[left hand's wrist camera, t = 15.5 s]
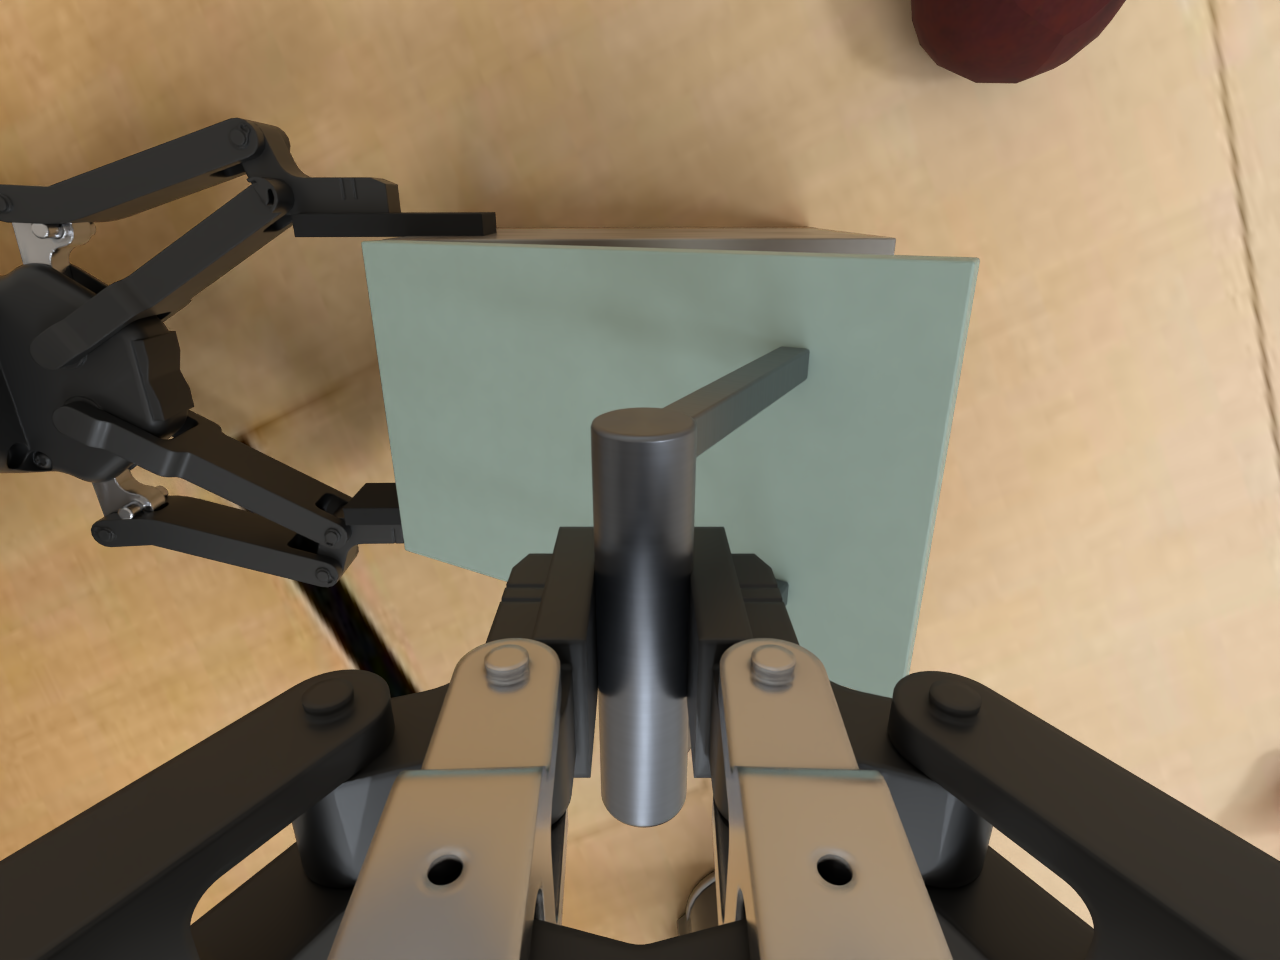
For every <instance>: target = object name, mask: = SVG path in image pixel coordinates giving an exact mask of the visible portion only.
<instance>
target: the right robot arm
mask: <svg viewBox="0 0 1280 960" xmlns="http://www.w3.org/2000/svg"><path fill="white" fill-rule="evenodd" d="M245 174H247V176H248V179H247V181H248V182H251V183H252V185H250V186H249V187H248V188H246V189H245V190H243V191H242V192H241V193H239V194H238V195H237V196H235V197H234V198H233V199H231V200H230V201H229V202H227V203H226V204H225V205H223V206H222V207H221V208H219V209H218V210H217V211H215V212H214V213H213V214H211V215H210V216H209V217H207V218H206V219H205V220H203V221H202V222H201V223H199V224H198V225H197V226H195V227H194V228H193V229H191V230H190V231H188V232H187V233H186V234H184V235H183V236H182V237H180V238H179V239H178V240H176V241H175V242H174V243H172V244H171V245H170V246H168V247H167V248H166V249H164V250H163V251H162V252H160V253H159V254H158V255H156V256H155V257H154V258H152V259H151V260H150V261H148V262H147V263H146V264H144V265H143V266H142V267H140V268H139V269H137V270H136V271H135V272H133V273H132V274H131V275H129V276H128V277H126V278H124V279H122V280H120V281H117V282H115V283H113V284H111V285H109V286H108V285H107V284H105V283H103V282H102V281H100V280H98V279H97V278H95V277H94V276H92V275H90V274H89V273H87V272H85V271H84V270H82V269H80V268H79V267H77V266H75V265H73V264H70V262H69V255H70V252H71V250H72V249H73V248H75V247H76V246H80V245H84V244H86V243H87V242H88V241H89V240H90V238H91V236H92V235H94V234H95V233H96V227H95V225H94V223H93V222H108V221H114V220H119V219H123V218H126V217H129V216H132V215H135V214H137V213H140V212H143V211H146V210H148V209H151V208H154V207H157V206H159V205H162V204H165V203H168V202H170V201H173V200H176V199H179V198H181V197H184V196H187V195H190V194H192V193H195V192H198V191H201V190H203V189H206V188H209V187H212V186H214V185H217V184H220V183H223V182H225V181H228V180H231V179H234V178H236V177H239V176H242V175H245ZM0 221H4V222H10V223H12V224H13V228H14V232H15V235H16V239H17V243H18V246H19V250H20V254H21V257H22V261H23V265H21V266H19V267H17V268H16V269H14V270H13V271H12V272H10V273H9V274H7V275H5V276H0V473H31V472H46V471H58V472H63V473H67V474H70V475H72V476H75V477H77V478H79V479H82V480H84V481H88V482H92V484H93V486H94V489H95V492H96V495H97V497H98V500H99V503H100V505H101V508H102V511H103V514H104V517H103V518H102V519H100V520H98V521H97V522H95V523H94V524H93V525H92V528H91V533H92V536H93V537H94V539H95V540H96V541H97V542H98V543H99V544H101V545H104V546H107V547H122V546H142V545H154V546H158V547H162V548H167V549H171V550H175V551H179V552H183V553H187V554H191V555H195V556H199V557H203V558H207V559H211V560H215V561H219V562H223V563H227V564H231V565H236V566H240V567H244V568H248V569H252V570H256V571H260V572H264V573H268V574H272V575H276V576H280V577H284V578H288V579H292V580H296V581H300V582H304V583H309V584H313V585H317V586H321V587H330V586H333V585H334V584H336V583H337V581H338V580H339V579H340V577H341V576H342V575H343V573H344V572H345V571H346V569H347V568H348V567H349V565H350V564H351V563H352V561H353V560H354V559H355V558H356V556H357V554H358V552H359V550H358V544H378V543H404V538H403V531H402V524H401V517H400V510H399V503H398V496H397V489H396V483H366V484H365V485H364V486H363V487H362V488H361V489H360V490H359V491H358V492H357V494H356V495H355V496H354V497H353V498H352V497H350V496H348V495H346V494H344V493H342V492H340V491H338V490H336V489H334V488H332V487H330V486H328V485H326V484H324V483H322V482H320V481H318V480H316V479H314V478H312V477H310V476H308V475H306V474H304V473H301V472H299V471H297V470H295V469H293V468H291V467H289V466H287V465H285V464H283V463H281V462H279V461H277V460H275V459H273V458H271V457H269V456H267V455H265V454H263V453H261V452H259V451H257V450H255V449H253V448H251V447H249V446H247V445H245V444H243V443H241V442H239V441H237V440H235V439H233V438H231V437H229V436H227V435H225V434H223V433H222V431H221V427H220V426H219V425H217V424H216V423H214V422H212V421H210V420H208V419H206V418H204V417H202V416H200V415H198V414H196V413H194V412H192V411H190V410H188V409H190V408H193V407H194V404H193V400H192V396H191V392H190V388H189V386H188V384H187V383H186V381H185V379H184V377H183V375H182V373H181V371H180V347H179V343H178V339H177V335H176V331H168V329H167V327H166V326H165V325H164V323H163V322H164V321H165V320H167V319H168V318H170V317H171V316H172V315H174V314H175V313H176V312H178V311H179V310H181V309H182V308H183V307H185V306H186V305H187V304H189V303H190V302H191V298H192V297H194V296H195V295H196V294H198V293H199V292H201V291H202V290H203V289H205V288H206V287H207V286H209V285H210V284H212V283H213V282H214V281H216V280H217V279H219V278H220V277H221V276H223V275H224V274H226V273H227V272H228V271H230V270H231V269H232V268H234V267H235V266H237V265H238V264H239V263H241V262H242V261H244V260H245V259H246V258H248V257H249V256H250V255H252V254H253V253H255V252H256V251H257V250H259V249H260V248H262V247H263V246H264V245H266V244H267V243H268V242H270V241H271V240H273V239H274V238H275V237H277V236H278V235H280V234H281V233H282V232H284V231H285V230H286V229H288V228H289V227H291V226H292V225H293V228H294V234H295V237H404V236H485V235H490V234H494V233H497V230H496V216H495V212H432V213H401V209H400V201H399V193H398V185H397V184H394V183H392V182H390V181H387V180H385V179H380V178H312V177H309V176H307V175H306V174H304V173H303V172H302V171H301V170H300V169H299V168H298V167H297V165H296V163H295V162H294V160H293V158H292V156H291V154H290V142H289V139H288V137H287V135H286V134H285V132H284V131H282V130H281V129H280V128H278V127H275V126H272V125H268V124H263V123H259V122H254V121H250V120H245V119H240V118H231V119H228V120H225V121H223V122H220V123H217V124H215V125H212V126H209V127H207V128H204V129H201V130H198V131H196V132H193V133H190V134H188V135H185V136H182V137H180V138H177V139H174V140H172V141H169V142H166V143H164V144H161V145H158V146H156V147H153V148H150V149H148V150H145V151H142V152H140V153H137V154H134V155H131V156H129V157H126V158H123V159H121V160H118V161H115V162H113V163H110V164H107V165H105V166H102V167H99V168H97V169H94V170H91V171H89V172H86V173H83V174H81V175H78V176H75V177H73V178H70V179H67V180H64V181H62V182H59V183H56V184H54V185H51V186H35V185H1V184H0ZM171 436H172V437H174V438H172V439H169V438H170V437H171ZM168 439H169V440H168ZM136 466H140V467H142V468H144V469H146V470H148V471H150V472H152V473H154V474H157V475H159V476H163V477H180V478H182V479H185V480H187V481H189V482H191V483H193V484H195V485H197V486H199V487H202V488H204V489H206V490H208V491H210V492H212V493H214V494H216V495H218V496H220V497H223V498H225V499H227V500H229V501H231V502H233V503H235V504H237V505H239V506H241V507H244V508H246V509H248V510H250V511H252V512H254V513H252V512H248V511H244V510H240V509H237V508H233V507H229V506H225V505H221V504H217V503H213V502H209V501H205V500H202V499H197V498H192V497H186V496H168V491H167V489H166V488H165V487H163V486H156V487H153V486H149V485H144V484H141V483H139V482H138V481H137V480H135V479H134V477H133V476H132V474H131V472H130V470H131V469H133V468H134V467H136Z"/></svg>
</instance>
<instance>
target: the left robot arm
mask: <svg viewBox="0 0 1280 960" xmlns="http://www.w3.org/2000/svg"><path fill="white" fill-rule="evenodd" d="M506 585H507V586H506V588H505V590H504V593H503V596H502V601H501V602H500V604H499V607H498V610H497V613H496V615H495V618H494V621H493V624H492V627H491V630H490V632H489V635H488V638H487V641H486V644H483V645H480V646H478V647H476V648H475V649H473V650H471V651H470V652H468V653H467V654H466V655H465V656H464V657H462V658H461V660H460V661H459V662H458V663H457V665H456V667H455V669H454V672H453V675H452V678H451V681H450V683H448V684H446V685H444V686H441V687H438V688H435V689H431V690H428V691H424V692H419V693H414V694H410V695H405V696H400V697H395V698H390V692H389V687H388V685H387V683H386V681H385V680H384V679H383V678H382V677H380V676H378V675H377V674H374V673H372V672H368V671H363V670H339V671H333V672H328V673H324V674H321V675H318V676H315V677H312V678H310V679H307V680H305V681H303V682H301V683H299V684H297V685H295V686H294V687H292V688H290V689H289V690H287V691H285V692H284V693H282V694H280V695H278V696H277V697H275V698H273V699H272V700H270V701H268V702H267V703H265V704H263V705H262V706H260V707H258V708H257V709H255V710H253V711H252V712H250V713H248V714H247V715H245V716H243V717H242V718H240V719H238V720H237V721H235V722H233V723H231V724H230V725H228V726H226V727H225V728H223V729H221V730H220V731H218V732H216V733H215V734H213V735H211V736H210V737H208V738H206V739H205V740H203V741H201V742H200V743H198V744H196V745H195V746H193V747H191V748H190V749H188V750H186V751H184V752H183V753H181V754H179V755H178V756H176V757H174V758H173V759H171V760H169V761H168V762H166V763H164V764H163V765H161V766H159V767H158V768H156V769H154V770H153V771H151V772H149V773H148V774H146V775H144V776H143V777H141V778H139V779H137V780H136V781H134V782H132V783H131V784H129V785H127V786H126V787H124V788H122V789H121V790H119V791H117V792H116V793H114V794H112V795H111V796H109V797H107V798H106V799H104V800H102V801H101V802H99V803H97V804H96V805H94V806H92V807H90V808H89V809H87V810H85V811H84V812H82V813H80V814H79V815H77V816H75V817H74V818H72V819H70V820H69V821H67V822H65V823H64V824H62V825H60V826H59V827H57V828H55V829H54V830H52V831H50V832H49V833H47V834H45V835H44V836H42V837H40V838H38V839H37V840H35V841H33V842H32V843H30V844H28V845H27V846H25V847H23V848H22V849H20V850H18V851H17V852H15V853H13V854H12V855H10V856H8V857H7V858H5V859H3V860H2V861H0V960H1280V861H1278V860H1277V859H1275V858H1273V857H1272V856H1270V855H1268V854H1267V853H1265V852H1263V851H1262V850H1260V849H1258V848H1257V847H1255V846H1253V845H1252V844H1250V843H1248V842H1247V841H1245V840H1243V839H1242V838H1240V837H1238V836H1237V835H1235V834H1233V833H1231V832H1230V831H1228V830H1226V829H1225V828H1223V827H1221V826H1220V825H1218V824H1216V823H1215V822H1213V821H1211V820H1210V819H1208V818H1206V817H1205V816H1203V815H1201V814H1200V813H1198V812H1196V811H1195V810H1193V809H1191V808H1190V807H1188V806H1186V805H1184V804H1183V803H1181V802H1179V801H1178V800H1176V799H1174V798H1173V797H1171V796H1169V795H1168V794H1166V793H1164V792H1163V791H1161V790H1159V789H1158V788H1156V787H1154V786H1153V785H1151V784H1149V783H1148V782H1146V781H1144V780H1143V779H1141V778H1139V777H1137V776H1136V775H1134V774H1132V773H1131V772H1129V771H1127V770H1126V769H1124V768H1122V767H1121V766H1119V765H1117V764H1116V763H1114V762H1112V761H1111V760H1109V759H1107V758H1106V757H1104V756H1102V755H1101V754H1099V753H1097V752H1096V751H1094V750H1092V749H1090V748H1089V747H1087V746H1085V745H1084V744H1082V743H1080V742H1079V741H1077V740H1075V739H1074V738H1072V737H1070V736H1069V735H1067V734H1065V733H1064V732H1062V731H1060V730H1059V729H1057V728H1055V727H1054V726H1052V725H1050V724H1049V723H1047V722H1045V721H1043V720H1042V719H1040V718H1038V717H1037V716H1035V715H1033V714H1032V713H1030V712H1028V711H1027V710H1025V709H1023V708H1022V707H1020V706H1018V705H1017V704H1015V703H1013V702H1012V701H1010V700H1008V699H1007V698H1005V697H1003V696H1002V695H1000V694H998V693H996V692H995V691H993V690H991V689H990V688H988V687H986V686H984V685H983V684H981V683H979V682H976V681H974V680H972V679H969V678H966V677H963V676H960V675H956V674H952V673H947V672H940V671H924V672H917V673H912V674H910V675H907V676H905V677H903V678H902V679H900V680H899V681H898V682H897V684H896V685H895V687H894V690H893V696H892V698H889V697H884V696H880V695H875V694H870V693H866V692H861V691H857V690H853V689H849V688H847V687H844V686H841V685H839V684H836V683H834V682H832V681H830V680H829V678H828V675H827V672H826V669H825V667H824V665H823V663H822V662H821V661H820V659H819V658H818V657H817V656H815V655H814V654H813V653H812V652H810V651H809V650H807V649H805V648H804V647H802V646H800V645H799V642H798V639H797V637H796V634H795V631H794V628H793V626H792V623H791V620H790V617H789V615H788V612H787V609H786V606H785V604H784V602H783V601H782V599H783V598H782V596H781V593H780V590H779V588H778V587H777V582H776V579H775V576H774V574H773V571H772V568H771V567H770V566H769V565H767V564H766V563H765V562H764V561H763V560H761V559H760V558H759V557H758V556H757V555H755V554H754V553H731V551H730V547H729V543H728V539H727V536H726V532H725V528H724V527H694V551H693V569H692V572H691V573H690V596H689V629H688V662H687V696H686V697H687V707H688V718H689V729H690V740H691V750H692V761H693V772H694V778H711V779H712V788H713V810H712V834H713V849H714V865H715V871H714V872H712V873H711V874H709V875H708V876H706V877H705V878H704V879H703V880H702V881H700V882H699V883H698V885H697V886H696V887H695V888H694V890H693V891H692V893H691V894H690V896H689V899H688V902H687V906H686V913H685V914H684V915H683V916H682V917H681V918H679V919H678V920H677V925H678V936H677V937H673V938H670V939H666V940H662V941H658V942H655V943H651V944H645V945H635V944H629V943H625V942H622V941H618V940H614V939H610V938H607V937H603V936H599V935H595V934H592V933H588V932H584V931H580V930H577V929H573V928H569V927H565V926H562V911H563V896H564V880H565V865H566V850H567V835H568V810H567V808H568V805H569V803H570V799H571V794H572V786H573V778H590V776H591V765H592V753H593V741H594V730H595V718H596V706H597V695H598V663H597V629H596V595H595V562H594V529H593V527H559V530H558V534H557V538H556V542H555V546H554V550H553V553H529V554H528V555H527V556H526V557H525V558H523V559H522V560H521V561H520V562H519V563H517V564H516V565H515V566H514V567H513V568H512V570H511V573H510V576H509V579H508V581H507V584H506ZM290 823H292V825H293V829H294V833H295V837H296V841H297V842H295V843H294V844H293V845H291V846H290V847H289V848H288V849H286V850H285V851H284V852H283V853H281V854H280V855H279V856H278V857H276V858H275V859H274V860H273V861H271V862H270V863H269V864H267V865H266V866H265V867H264V868H262V869H261V870H260V871H259V872H257V873H256V874H255V875H254V876H252V877H251V878H250V879H249V880H247V881H246V882H245V883H244V884H242V885H241V886H240V887H238V888H237V889H236V890H235V891H233V892H232V893H231V894H230V895H228V896H227V897H226V898H225V899H223V900H222V901H221V902H220V903H218V904H217V905H216V906H214V907H213V908H212V909H211V910H209V911H208V912H207V913H206V914H204V915H203V916H202V917H201V918H199V919H198V920H197V921H196V922H194V923H193V924H192V925H191V926H190V922H191V918H192V914H193V912H194V909H195V907H196V905H197V903H198V901H199V900H200V898H201V897H202V895H203V894H204V893H205V892H206V890H207V889H208V888H209V887H210V886H211V885H212V884H213V883H214V882H215V881H216V880H217V879H219V878H220V877H221V876H222V875H224V874H225V873H226V872H227V871H229V870H230V869H231V868H233V867H234V866H235V865H237V864H238V863H239V862H241V861H242V860H243V859H244V858H246V857H247V856H248V855H250V854H251V853H252V852H254V851H255V850H256V849H258V848H259V847H260V846H261V845H263V844H264V843H265V842H267V841H268V840H269V839H271V838H272V837H273V836H275V835H276V834H277V833H279V832H280V831H281V830H282V829H284V828H285V827H286V826H288V825H289V824H290ZM993 826H994V827H995V828H996V829H998V830H999V831H1000V832H1002V833H1003V834H1004V835H1005V836H1007V837H1008V838H1009V839H1011V840H1012V841H1013V842H1015V843H1016V844H1017V845H1019V846H1020V847H1021V848H1022V849H1024V850H1025V851H1026V852H1028V853H1029V854H1030V855H1032V856H1033V857H1034V858H1036V859H1037V860H1038V861H1039V862H1041V863H1042V864H1043V865H1045V866H1046V867H1047V868H1049V869H1050V870H1051V871H1053V872H1054V873H1055V874H1056V875H1058V876H1059V877H1060V878H1062V879H1063V880H1064V881H1065V882H1067V883H1068V884H1069V885H1070V886H1071V887H1072V888H1073V889H1074V890H1075V891H1076V892H1077V893H1078V895H1079V896H1080V897H1081V898H1082V900H1083V901H1084V903H1085V904H1086V906H1087V908H1088V910H1089V912H1090V914H1091V917H1092V920H1093V924H1094V929H1093V928H1092V927H1091V926H1090V925H1088V924H1087V923H1086V922H1084V921H1083V920H1082V919H1081V918H1079V917H1078V916H1077V915H1076V914H1074V913H1073V912H1072V911H1071V910H1069V909H1068V908H1067V907H1066V906H1064V905H1063V904H1062V903H1060V902H1059V901H1058V900H1057V899H1055V898H1054V897H1053V896H1052V895H1050V894H1049V893H1048V892H1047V891H1045V890H1044V889H1043V888H1042V887H1040V886H1039V885H1038V884H1037V883H1035V882H1034V881H1033V880H1031V879H1030V878H1029V877H1028V876H1026V875H1025V874H1024V873H1023V872H1021V871H1020V870H1019V869H1018V868H1016V867H1015V866H1014V865H1013V864H1011V863H1010V862H1009V861H1007V860H1006V859H1005V858H1004V857H1002V856H1001V855H1000V854H999V853H997V852H996V851H995V850H994V849H992V848H991V847H990V846H989V845H988V844H989V840H990V836H991V832H992V828H993Z"/></svg>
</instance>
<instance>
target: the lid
mask: <svg viewBox="0 0 1280 960" xmlns="http://www.w3.org/2000/svg"><path fill="white" fill-rule="evenodd" d="M361 244H362V251H363V258H364V265H365V272H366V279H367V286H368V293H369V300H370V307H371V314H372V321H373V328H374V335H375V342H376V349H377V356H378V363H379V370H380V377H381V384H382V391H383V398H384V405H385V412H386V419H387V426H388V433H389V440H390V447H391V454H392V461H393V468H394V475H395V482H396V489H397V496H398V503H399V510H400V517H401V524H402V531H403V538H404V545H405V550H407V551H410V552H413V553H416V554H419V555H423V556H426V557H429V558H432V559H435V560H439V561H442V562H445V563H448V564H452V565H455V566H458V567H461V568H464V569H468V570H471V571H474V572H477V573H481V574H484V575H487V576H490V577H493V578H497V579H500V580H503V581H506V582H507V581H508V579H509V576H510V573H511V570H512V568H513V567H514V566H515V565H516V564H517V563H519V562H520V561H521V560H522V559H523V558H525V557H526V556H527V555H528V554H529V553H553V550H554V546H555V542H556V538H557V534H558V530H559V527H593V529H594V562H595V595H596V629H597V663H598V697H599V731H600V764H601V796H602V800H603V803H604V805H605V807H606V808H607V810H608V811H609V812H610V814H611V815H612V816H613V817H615V818H616V819H617V820H619V821H621V822H622V823H625V824H627V825H631V826H635V827H653V826H657V825H661V824H663V823H665V822H667V821H669V820H671V819H672V818H673V817H674V816H675V815H676V814H677V813H678V812H679V811H680V809H681V808H682V806H683V804H684V802H685V799H686V786H687V753H688V752H689V750H690V749H691V740H690V729H689V718H688V707H687V697H686V696H687V662H688V629H689V596H690V573H691V572H692V569H693V551H694V527H724V528H725V532H726V536H727V539H728V543H729V547H730V551H731V553H754V554H755V555H757V556H758V557H759V558H760V559H761V560H763V561H764V562H765V563H766V564H767V565H769V566H770V567H771V568H772V571H773V574H774V576H775V579H776V582H777V587H778V588H779V590H780V593H781V596H782V598H783V599H782V601H783V602H784V604H785V606H786V609H787V612H788V615H789V617H790V620H791V623H792V626H793V628H794V631H795V634H796V637H797V639H798V642H799V645H800V646H802V647H804V648H805V649H807V650H809V651H810V652H812V653H813V654H814V655H815V656H817V657H818V658H819V659H820V661H821V662H822V663H823V665H824V667H825V669H826V672H827V675H828V678H829V680H830V681H832V682H834V683H836V684H839V685H841V686H845V687H848V688H851V689H854V690H857V691H861V692H866V693H870V694H875V695H880V696H884V697H889V698H892V696H893V690H894V687H895V685H896V684H897V682H898V681H899V680H900V679H902V678H903V677H905V676H907V675H909V671H910V665H911V659H912V654H913V648H914V642H915V636H916V630H917V624H918V619H919V613H920V607H921V601H922V595H923V589H924V584H925V578H926V572H927V566H928V560H929V554H930V548H931V543H932V537H933V531H934V525H935V519H936V513H937V508H938V502H939V496H940V490H941V484H942V478H943V473H944V467H945V461H946V455H947V449H948V443H949V438H950V432H951V426H952V420H953V414H954V408H955V403H956V397H957V391H958V385H959V379H960V373H961V368H962V362H963V356H964V350H965V344H966V338H967V333H968V327H969V321H970V315H971V309H972V303H973V298H974V292H975V286H976V280H977V274H978V268H979V263H980V260H979V258H972V257H939V256H905V255H872V254H839V253H805V252H772V251H739V250H705V249H672V248H639V247H605V246H572V245H539V244H505V243H472V242H439V241H405V240H379V241H363V242H362V243H361Z"/></svg>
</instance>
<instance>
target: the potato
mask: <svg viewBox="0 0 1280 960" xmlns="http://www.w3.org/2000/svg"><path fill="white" fill-rule="evenodd" d="M1125 1H1126V0H911V6H912V21H913V24H914V28H915V31H916V34H917V37H918V40H919V43H920V45H921V46H922V48H923V49H924V50H925V51H926V52H927V53H928V55H929V56H930V57H931V58H932V59H933V60H934V62H935V63H936V64H937V65H938V66H941V67H943V68H945V69H947V70H949V71H951V72H954V73H956V74H958V75H960V76H962V77H965V78H967V79H969V80H971V81H973V82H975V83H1018V82H1021V81H1024V80H1026V79H1029V78H1031V77H1034V76H1036V75H1039V74H1041V73H1044V72H1046V71H1049V70H1052V69H1054V68H1056V67H1058V66H1059V65H1061V64H1063V63H1065V62H1066V61H1068V60H1069V59H1070V58H1072V57H1073V56H1074V55H1075V54H1077V53H1078V52H1079V51H1080V50H1082V49H1083V48H1084V47H1085V46H1087V45H1088V44H1089V43H1090V42H1092V41H1093V40H1094V39H1095V38H1097V37H1098V36H1099V35H1100V33H1101V32H1102V31H1103V30H1104V29H1105V27H1106V26H1107V25H1108V24H1109V23H1110V21H1111V20H1112V19H1113V17H1114V16H1115V15H1116V13H1117V12H1118V10H1119V9H1120V8H1121V6H1122V5H1123V3H1124V2H1125Z"/></svg>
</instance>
